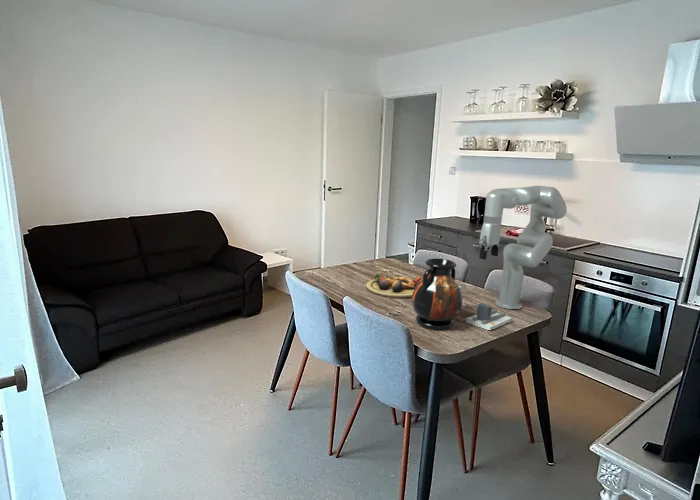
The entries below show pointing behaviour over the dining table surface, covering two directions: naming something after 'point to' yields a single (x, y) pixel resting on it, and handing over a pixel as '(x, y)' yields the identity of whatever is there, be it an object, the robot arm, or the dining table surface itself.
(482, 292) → the dining table surface
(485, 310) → the fader knob
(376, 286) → the wooden plate with food
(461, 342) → the dining table surface
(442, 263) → the amphora vase
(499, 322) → the fader console
